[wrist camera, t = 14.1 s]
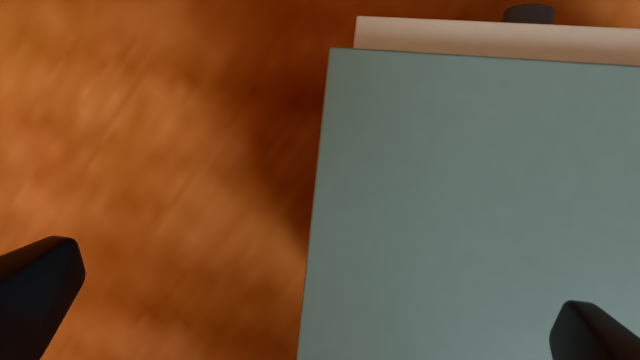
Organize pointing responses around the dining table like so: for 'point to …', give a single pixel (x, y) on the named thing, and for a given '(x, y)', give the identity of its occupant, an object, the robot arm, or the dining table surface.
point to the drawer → (502, 37)
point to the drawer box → (469, 205)
